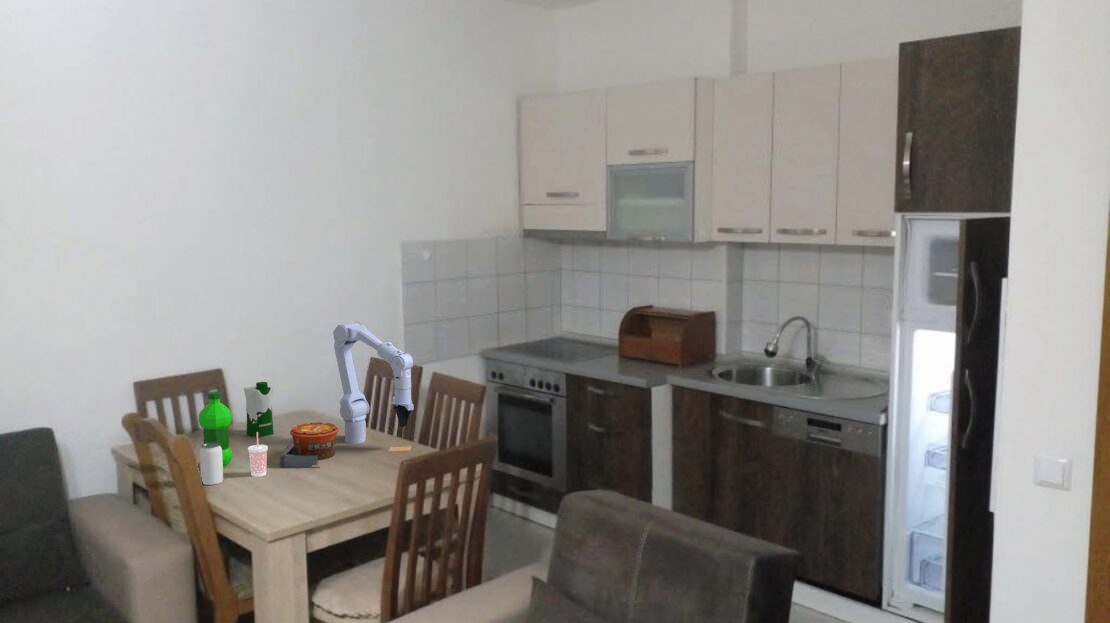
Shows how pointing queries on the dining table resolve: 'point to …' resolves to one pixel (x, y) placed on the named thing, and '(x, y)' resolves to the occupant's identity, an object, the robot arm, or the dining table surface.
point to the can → (211, 463)
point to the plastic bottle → (216, 424)
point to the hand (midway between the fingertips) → (403, 426)
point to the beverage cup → (258, 459)
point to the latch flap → (400, 448)
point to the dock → (297, 459)
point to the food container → (315, 439)
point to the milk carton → (259, 409)
